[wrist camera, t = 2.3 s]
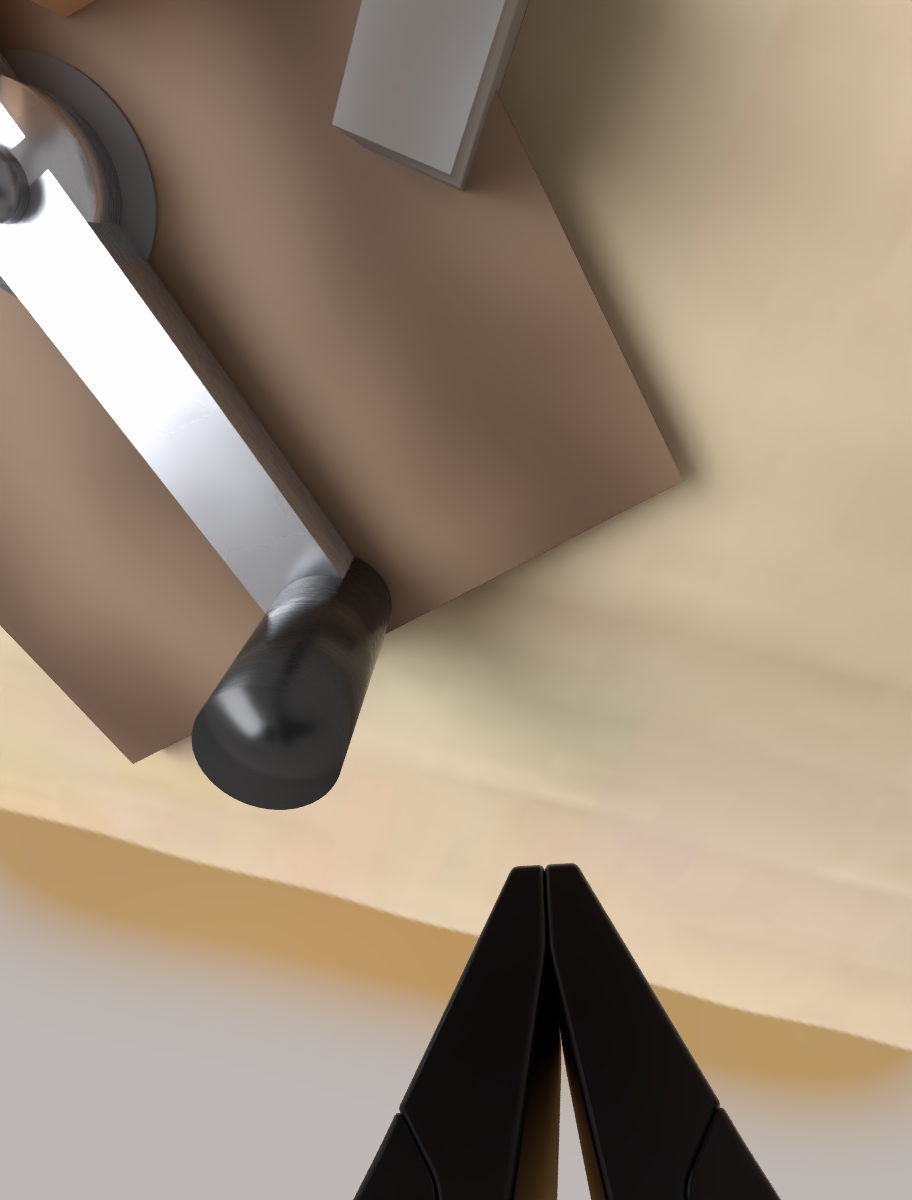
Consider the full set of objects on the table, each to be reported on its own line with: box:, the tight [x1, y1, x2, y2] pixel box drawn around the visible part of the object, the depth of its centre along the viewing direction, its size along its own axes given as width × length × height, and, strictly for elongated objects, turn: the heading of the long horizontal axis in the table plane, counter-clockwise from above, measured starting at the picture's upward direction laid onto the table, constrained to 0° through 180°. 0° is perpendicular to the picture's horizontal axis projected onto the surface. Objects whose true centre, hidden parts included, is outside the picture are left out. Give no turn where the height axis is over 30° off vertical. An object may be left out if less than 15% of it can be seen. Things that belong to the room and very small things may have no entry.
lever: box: [0, 52, 392, 810], centre depth 13 cm, size 4×17×6 cm, turn 31°
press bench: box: [0, 0, 683, 764], centre depth 15 cm, size 20×17×4 cm
